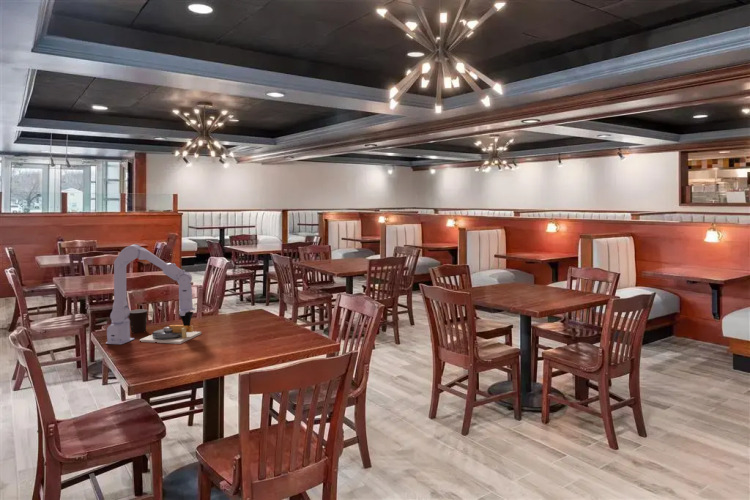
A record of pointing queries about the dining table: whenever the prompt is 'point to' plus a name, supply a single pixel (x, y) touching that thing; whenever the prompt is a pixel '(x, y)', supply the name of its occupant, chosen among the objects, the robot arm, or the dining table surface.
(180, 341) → the base board
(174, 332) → the dial
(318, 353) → the dining table surface
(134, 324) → the coffee mug
